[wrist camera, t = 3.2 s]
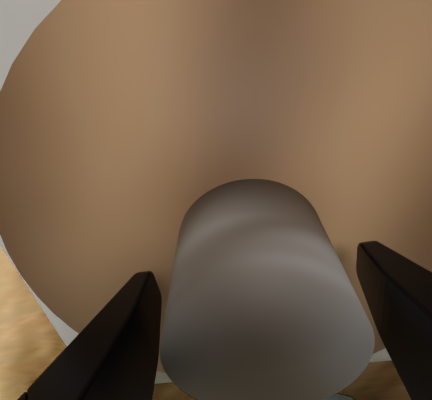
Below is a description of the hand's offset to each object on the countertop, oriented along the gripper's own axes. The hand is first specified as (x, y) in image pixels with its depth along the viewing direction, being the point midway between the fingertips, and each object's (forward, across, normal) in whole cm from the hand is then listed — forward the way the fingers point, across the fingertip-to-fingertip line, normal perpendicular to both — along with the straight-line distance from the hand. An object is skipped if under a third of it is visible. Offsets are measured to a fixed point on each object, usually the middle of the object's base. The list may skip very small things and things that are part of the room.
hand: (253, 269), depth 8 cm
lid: (+2, 0, 0) cm, 2 cm away
